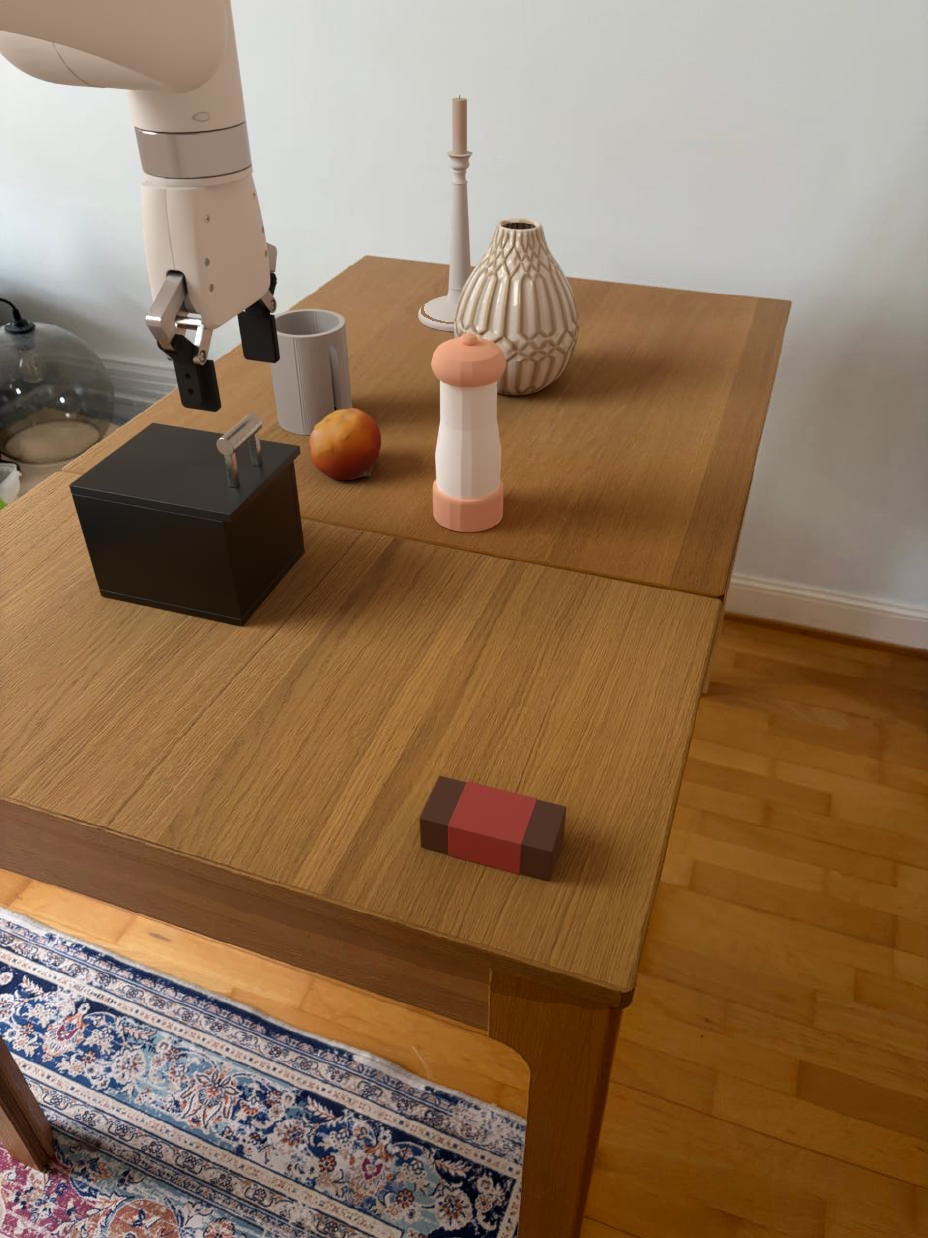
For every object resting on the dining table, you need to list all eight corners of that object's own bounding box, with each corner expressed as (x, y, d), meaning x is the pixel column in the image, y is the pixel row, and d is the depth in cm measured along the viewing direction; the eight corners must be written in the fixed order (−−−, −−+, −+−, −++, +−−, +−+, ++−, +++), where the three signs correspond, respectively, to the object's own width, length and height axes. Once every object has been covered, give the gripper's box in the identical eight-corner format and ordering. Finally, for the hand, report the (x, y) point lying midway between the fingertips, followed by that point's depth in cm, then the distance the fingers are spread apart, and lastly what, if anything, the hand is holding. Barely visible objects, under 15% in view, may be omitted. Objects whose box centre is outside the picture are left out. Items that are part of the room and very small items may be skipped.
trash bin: (305, 551, 93) (293, 452, 86) (242, 626, 83) (223, 521, 77) (175, 527, 96) (154, 430, 90) (101, 596, 87) (71, 493, 80)
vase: (582, 365, 129) (595, 210, 117) (563, 414, 117) (575, 247, 105) (470, 354, 133) (470, 202, 120) (440, 400, 120) (437, 237, 108)
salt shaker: (517, 515, 98) (524, 335, 86) (465, 540, 94) (465, 355, 83) (471, 489, 102) (472, 314, 91) (419, 512, 99) (412, 332, 87)
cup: (296, 399, 121) (285, 305, 113) (363, 407, 119) (356, 312, 111) (265, 429, 114) (251, 332, 107) (335, 439, 112) (326, 340, 105)
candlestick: (408, 327, 141) (400, 100, 122) (430, 299, 151) (425, 85, 132) (493, 334, 138) (497, 104, 120) (509, 305, 148) (515, 88, 130)
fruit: (396, 476, 102) (353, 417, 98) (336, 508, 104) (292, 452, 100) (401, 441, 108) (361, 385, 104) (345, 473, 111) (304, 418, 107)
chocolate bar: (564, 835, 65) (567, 805, 63) (549, 883, 62) (552, 852, 60) (440, 804, 67) (439, 774, 65) (420, 848, 64) (418, 818, 62)
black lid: (301, 453, 86) (294, 398, 83) (231, 522, 76) (221, 463, 73) (154, 429, 90) (142, 375, 86) (71, 493, 80) (54, 435, 77)
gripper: (211, 124, 73) (244, 339, 84) (72, 177, 60) (132, 422, 71) (299, 130, 71) (321, 349, 82) (175, 185, 58) (220, 437, 69)
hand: (233, 383), depth 76 cm, fingers open, 9 cm apart
